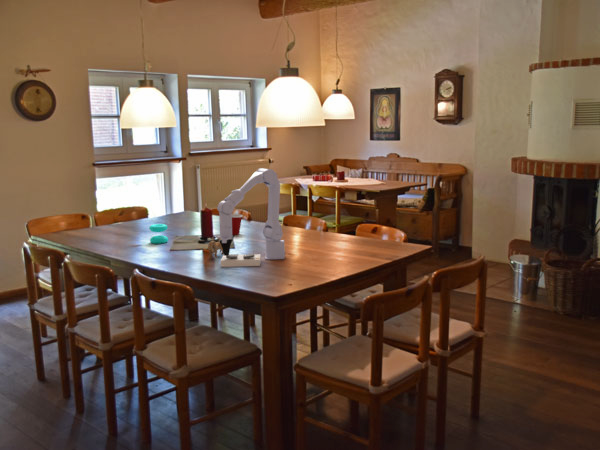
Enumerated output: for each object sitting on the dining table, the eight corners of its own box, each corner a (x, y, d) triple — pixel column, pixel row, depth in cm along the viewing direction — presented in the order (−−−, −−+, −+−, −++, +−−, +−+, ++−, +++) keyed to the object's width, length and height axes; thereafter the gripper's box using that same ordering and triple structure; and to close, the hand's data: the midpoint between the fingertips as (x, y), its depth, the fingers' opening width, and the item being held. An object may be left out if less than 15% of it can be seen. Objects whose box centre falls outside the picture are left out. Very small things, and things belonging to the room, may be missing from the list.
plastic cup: (242, 235, 336) (241, 215, 334) (224, 236, 336) (223, 216, 334) (244, 232, 347) (244, 213, 345) (227, 232, 347) (226, 213, 345)
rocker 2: (254, 256, 268) (254, 252, 268) (254, 258, 265) (253, 254, 264) (244, 257, 269) (243, 254, 268) (243, 259, 265) (243, 256, 264)
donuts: (171, 224, 323) (159, 227, 314) (172, 241, 324) (160, 244, 316) (157, 223, 327) (145, 225, 319) (158, 240, 329) (146, 243, 320)
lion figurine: (217, 259, 277) (216, 241, 276) (206, 259, 278) (205, 241, 276) (225, 253, 292) (224, 236, 290) (214, 253, 292) (214, 236, 291)
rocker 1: (237, 257, 268) (237, 254, 268) (237, 259, 265) (237, 256, 264) (227, 257, 268) (227, 254, 268) (226, 259, 264) (226, 256, 264)
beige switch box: (260, 260, 275) (260, 253, 274) (259, 265, 264) (259, 259, 263) (223, 261, 274) (223, 254, 274) (220, 266, 263) (220, 260, 263)
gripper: (219, 224, 271) (219, 252, 273) (215, 229, 257) (215, 258, 259) (233, 224, 271) (234, 252, 273) (230, 229, 257) (231, 258, 259)
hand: (226, 255), depth 266 cm, fingers closed, pressing on rocker 1
